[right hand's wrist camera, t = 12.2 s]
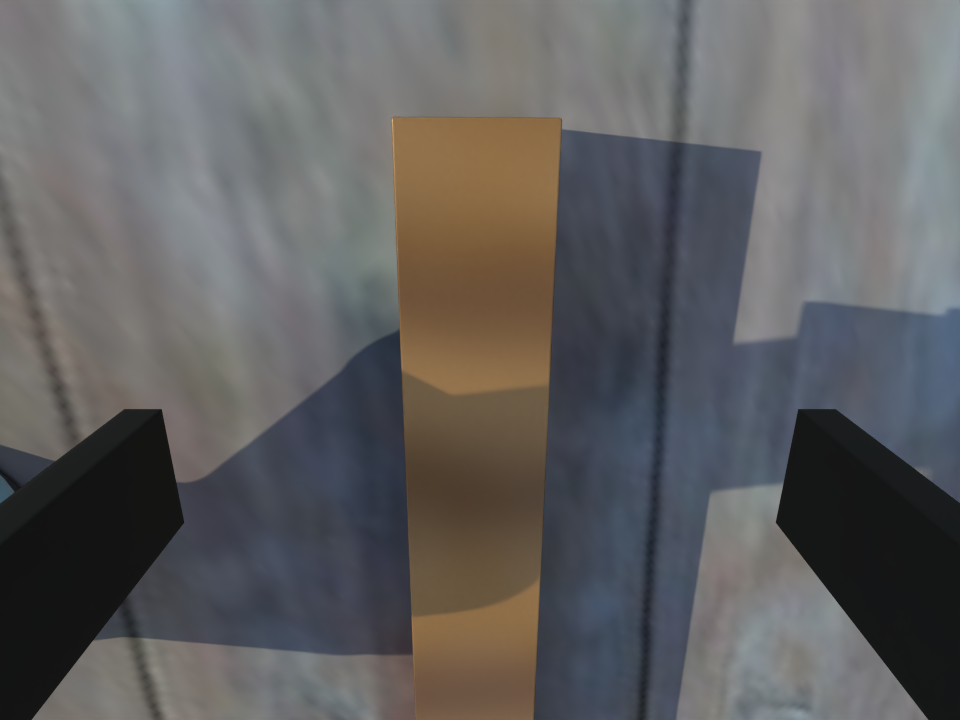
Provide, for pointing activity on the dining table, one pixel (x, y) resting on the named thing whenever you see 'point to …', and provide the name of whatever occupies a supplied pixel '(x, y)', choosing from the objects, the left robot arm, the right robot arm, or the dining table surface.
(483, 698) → the post
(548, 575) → the dining table surface
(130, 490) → the right robot arm
